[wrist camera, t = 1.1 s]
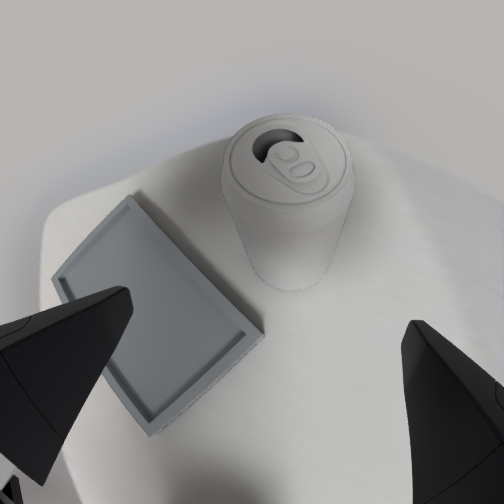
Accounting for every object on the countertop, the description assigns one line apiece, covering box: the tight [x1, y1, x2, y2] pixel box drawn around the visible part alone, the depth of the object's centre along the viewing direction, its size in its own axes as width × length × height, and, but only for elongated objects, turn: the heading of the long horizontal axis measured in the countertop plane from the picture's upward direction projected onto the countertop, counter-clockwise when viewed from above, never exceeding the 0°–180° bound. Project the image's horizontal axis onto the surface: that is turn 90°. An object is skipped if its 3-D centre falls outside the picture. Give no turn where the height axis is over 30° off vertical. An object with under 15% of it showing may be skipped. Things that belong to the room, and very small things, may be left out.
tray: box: [51, 194, 265, 437], centre depth 22 cm, size 18×12×2 cm, turn 45°
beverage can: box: [221, 113, 356, 291], centre depth 17 cm, size 6×6×12 cm
